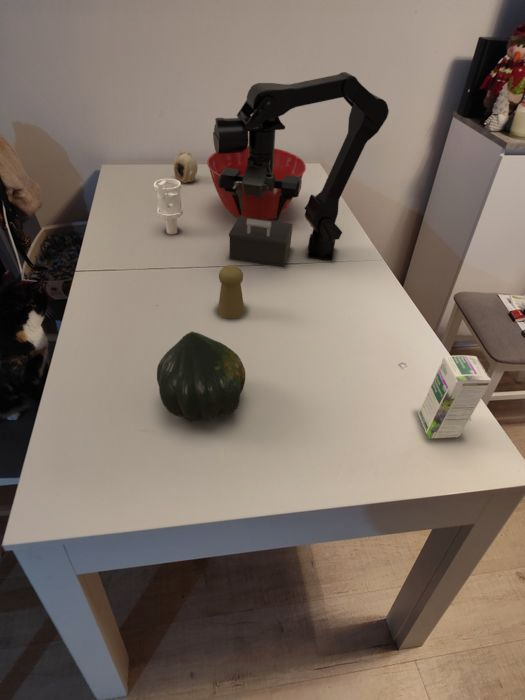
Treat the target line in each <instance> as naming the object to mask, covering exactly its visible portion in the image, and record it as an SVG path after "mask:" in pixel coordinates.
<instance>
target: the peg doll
mask: <svg viewBox="0 0 525 700" xmlns="http://www.w3.org/2000/svg"><path fill="white" fill-rule="evenodd" d="M218 279H219V282H220V283H221V284H220V290H219V291H220V292H219V299H218V307H217V314H218V315H219V316H220V317H222V318H223V319H227V320H235V319H239V318H241V317H242V316H243V315H245V303H244V297H243V291H242V283H243V280H244V273H243V270H242V268H240V267H239V266H237V265H230V264H229V265H224V266H223V267H222V268H221V269H220V270H219V271H218Z"/></svg>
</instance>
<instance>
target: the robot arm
mask: <svg viewBox="0 0 525 700" xmlns="http://www.w3.org/2000/svg"><path fill="white" fill-rule="evenodd" d="M341 98H343V99H344V100H345V102H346V103H347V104H348V105H349V106H350V107H351V109H350V112H349V114H348V115H349V116H348V125H347V134H346V136H345V138H344V141H343V143H342V145H341V148H340V149H339V152H338V154H337V156H336V158H335V160H334V163H333V165H332V167H331V169H330V172H329V174H328V176H327V177H326V178H327V179H326V180H325V182H324V185H323V187H322V189H321V190H320V192H318V193H317V194H316V195H314V194H310V196H309V199H308V201H307V204H306V205H305V206H304V210H305V212H304V217H305V220H306V221H307V222H308V224H309V225H310V227H311V228H312V229H313V230H312V233H310V235H309V238H308V247H307V252H308V256H307V257H308V258H311V259H317V260H318V259H319V260H326V261H333V260H334V253H335V249H336V248H335V245H336V240H340V238H341V236H342V234H343V231H342V229H340V228H339V226H338V225H337V224H336V221H337V218H338V214H339V203H340V199H341V197H342V194H343V193H344V190H345V188H346V186H347V184H348V182H349V180H350V178H351V175H352V173H353V171H354V170H355V167H356V166H357V163H358V162H359V160H360V156H361V155H362V153H363V150H364V149H365V146H366V144H367V143H368V141H370V140H371V139H372V138H373V137H374V136H376V135H377V134H378V132H379V131H380V129H381V128H382V127H383V125H384V124H385V122H386V120H387V119H388V116H389V112H390V109H389V105H388V103H387V101H385V100H384V99H383V98H381V97H379V96H377V95H375V94H374V93H372V92H371V91H369V90H368V89H367V88H366V87H365V86H363V84H361V82H360V81H359V80H358V78H357V77H356V76H354V75H352V74H350V73H348V72H345V71H342V72H340V73H338V74H334V75H329V76H323V77H319V78H314V79H310V80H304V81H299V82H295V83H290V84H289V83H285V84H284V83H277V82H257V83H255V84H253V85H252V86H250V88H249V90H248V92H247V94H246V100H245V101H244V103H243V104H242V106H241V107H240V109H239V111H238V112H237V114H236V117H230V118H229V117H228V118H224V117H215V124H214V128H213V131H212V139H213V140H212V141H213V147H214V152H216V153H217V154H224V153H241V152H243V151H244V150H246V148H247V146H249V153H248V162H247V167H246V170H245V174H244V175H241V171H240V169H231V168H226V169H225V170H224V171H223V172H222V173H221V174H220V176H219V179H218V185H219V187H220V188H224V190H225V191H226V192H229V193H230V194H231V195H232V197H233V199H234V201H235V204H236V207H237V209H238V212H239V215H242V208H243V204H242V184H243V193H244V195H248V196H249V195H253V196H257V197H262V196H264V194H265V191H266V192H268V191H273V189H274V188H278V189H281V194H280V196H279V204H278V209H277V215H276V217H275V221H279V218H280V216H281V214H282V213H281V211H282V209H283V206H284V204H285V203H286V201H287V200H291V199H292V200H293V198H298V197H299V196H300V195H299V194H300V192H301V190H302V184H303V183H302V182H303V179H301V178H300V177H297V176H289V175H285V177H284V179H283V180H278V179H275V175H274V174H273V165H274V148H275V147H276V145H275V144H276V131H281V130H285V129H286V125H284V123H282V120H281V119H280V117H281V116H284V115H285V114H287V113H288V112H289V111H291V110H293V109H296V108H298V107H303V106H308V105H313V104H318V103H323V102H326V101H331V100H337V99H341ZM292 200H291V201H292Z"/></svg>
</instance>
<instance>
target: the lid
mask: <svg viewBox="0 0 525 700" xmlns="http://www.w3.org/2000/svg"><path fill="white" fill-rule="evenodd" d="M291 228H292V229H293V223H291V222H283V221H278V220H263V219H256V218H249V217H241V216H239V217H238V218H237V219H236V220H235V222H234V224H233V226H232V228H231V229H230V231H229V233H228V237H229V238H230V237H235V238H241V239H248V240H255V241H262V242H269V243H276V244H283V245H286V242H287V239H288V237H289V234H290V231H291Z"/></svg>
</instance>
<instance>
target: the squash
mask: <svg viewBox="0 0 525 700" xmlns="http://www.w3.org/2000/svg"><path fill="white" fill-rule="evenodd" d="M156 381H157V385H158V391H159V392H158V393H159V397H160V400H161V402H162V405H163V406H164V407H165V408H166V410H167V411H168V412H169V413H170V414H172V415H174V416H176V417H181V418H183V417H184V418H186V419H187V420H188V421H190V422H193V423H195V422H199V421H200V420H201V418H202V417H203V418H204V419H206V420H213V419H215V418H216V417H217V415H219V416H230V415H231V414H233V413H234V412H235V411H236V410H237V409H238V407H239V404H240V400H241V394H242V392H243V390H244V387H245V383H246V369H245V367H244V364H243V361H242V360H241V358H240V356H239V355H238V354H237V353H236V352H235V351H233V350H232V349H231V348H230V347H228V346H227V345H225V344H224V343H222V342H220V341H218V340H215V339H212V338H210V337H208V336H207V335H204V334H202V333H199V332H195V331H194V330H193V331H189V332H188V333H186V334H185V335H184V336H183V337H182V338H181V339H179V340H178V341H177V343H175V344H174V345H173V346H172V347H170V348H169V350H167V352H166V353H165V354H164V355H163V356H162V358H161V359H160V360H159V363H158V364H157V368H156Z"/></svg>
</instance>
